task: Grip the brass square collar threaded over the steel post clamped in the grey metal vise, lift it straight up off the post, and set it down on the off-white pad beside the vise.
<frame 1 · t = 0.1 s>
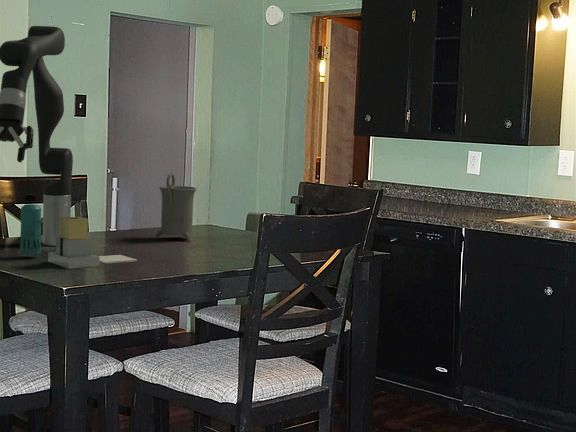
hand: (4, 161, 260), 31 cm above the table, tool tilted 20°, fingers open, 8 cm apart
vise: (73, 263, 280), on the table
pad: (113, 259, 291), on the table
beverage bottle: (30, 258, 289), on the table
brass collar: (73, 237, 279), point 8 cm above the table, touching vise
grey looped tall container: (175, 240, 344), on the table
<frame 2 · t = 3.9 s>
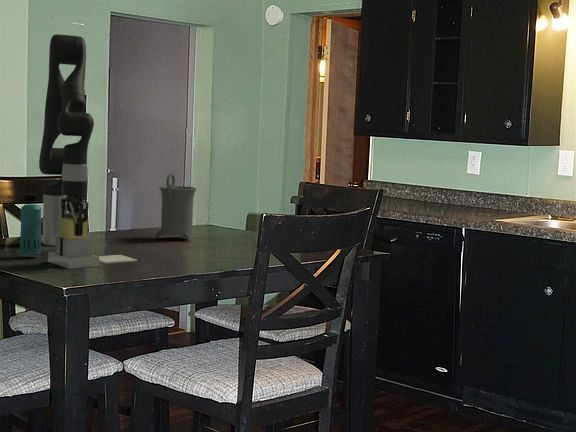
hand: (73, 234, 279), 9 cm above the table, tool pointing down, fingers closed on brass collar, 6 cm apart
brass collar: (73, 237, 279), point 8 cm above the table, touching gripper, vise
everything else where it was.
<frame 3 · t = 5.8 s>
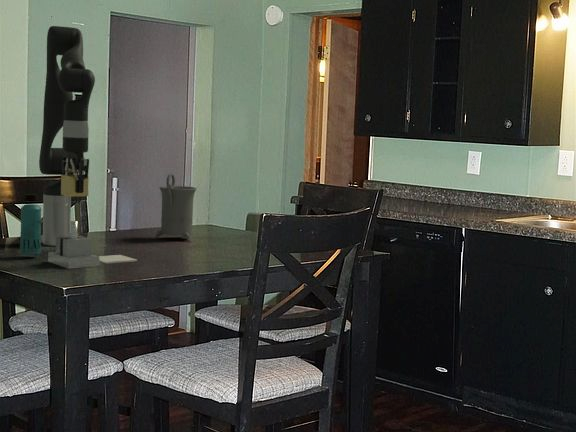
hand: (74, 191, 278), 22 cm above the table, tool pointing down, fingers closed on brass collar, 6 cm apart
brass collar: (74, 195, 278), point 21 cm above the table, touching gripper
everything else where it was.
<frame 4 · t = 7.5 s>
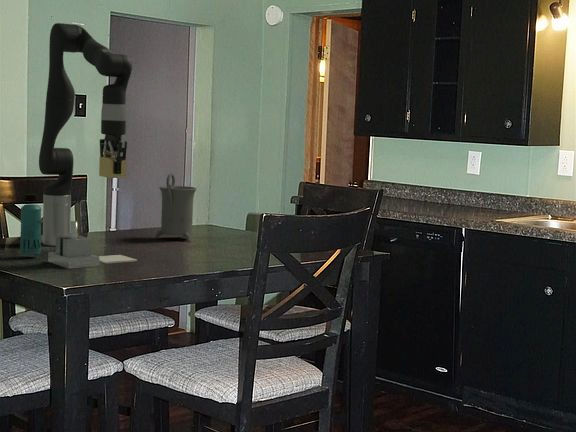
hand: (112, 173, 287), 27 cm above the table, tool pointing down, fingers closed on brass collar, 6 cm apart
brass collar: (112, 176, 288), point 26 cm above the table, touching gripper
everything else where it was.
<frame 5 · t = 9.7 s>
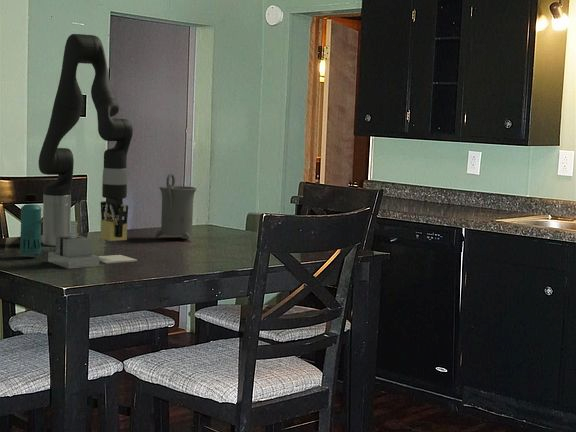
hand: (113, 235, 290), 8 cm above the table, tool pointing down, fingers closed on brass collar, 6 cm apart
brass collar: (113, 239, 290), point 7 cm above the table, touching gripper
everything else where it was.
when the fingers open (3 cm above the table, at t = 11.5 s): brass collar drops 1 cm, resting on pad.
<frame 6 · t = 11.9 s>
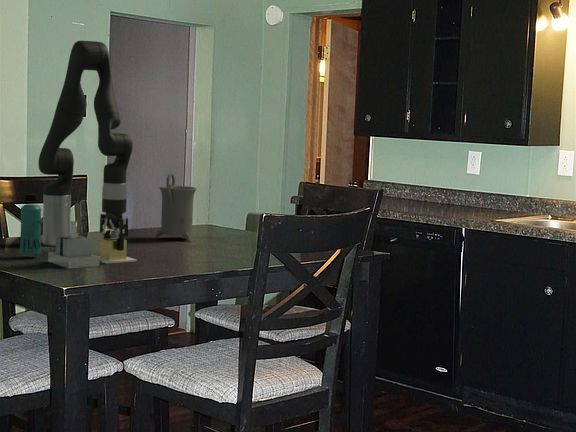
hand: (113, 248, 291), 4 cm above the table, tool pointing down, fingers open, 8 cm apart
brass collar: (113, 258, 291), resting on pad
everything else where it was.
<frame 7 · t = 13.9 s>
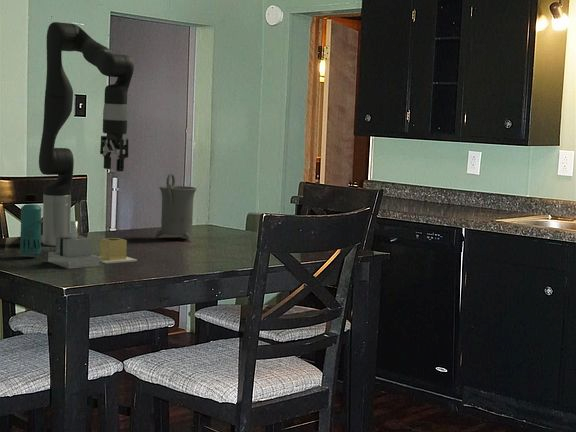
hand: (113, 170, 292), 28 cm above the table, tool pointing down, fingers open, 8 cm apart
nothing on the table moved.
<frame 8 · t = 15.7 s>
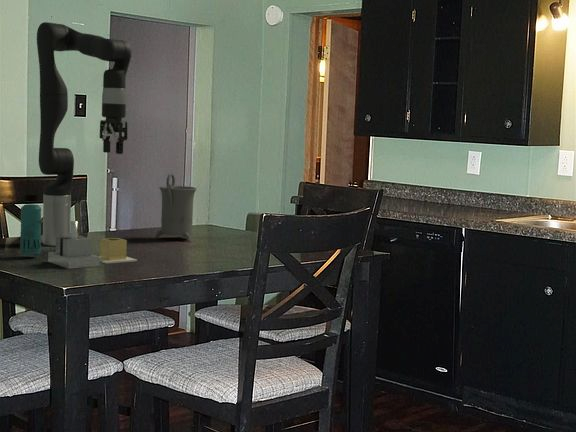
hand: (112, 153, 298), 33 cm above the table, tool pointing down, fingers open, 8 cm apart
nothing on the table moved.
at the end: brass collar inside the target area on the pad (0.0 cm from its centre), point 0.5 cm above the pad's base; brass collar tilted 0°; brass collar touching pad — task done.
